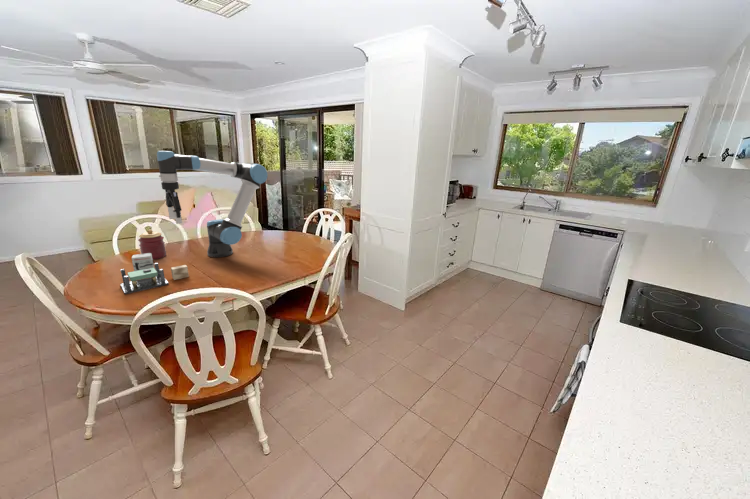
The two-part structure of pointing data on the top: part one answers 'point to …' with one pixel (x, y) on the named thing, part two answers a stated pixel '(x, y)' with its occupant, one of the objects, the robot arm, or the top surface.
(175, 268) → the block
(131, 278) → the board
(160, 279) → the chassis
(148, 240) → the canister
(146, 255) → the ink box
